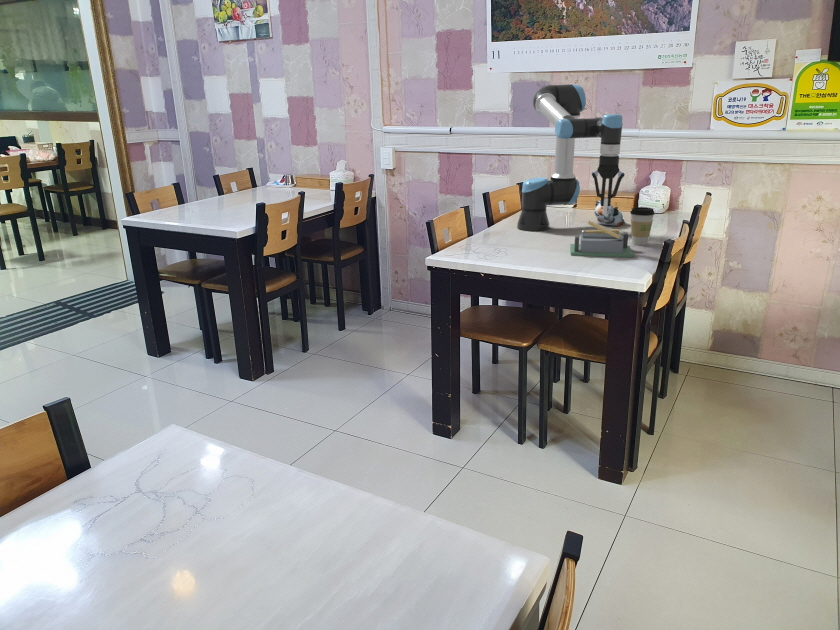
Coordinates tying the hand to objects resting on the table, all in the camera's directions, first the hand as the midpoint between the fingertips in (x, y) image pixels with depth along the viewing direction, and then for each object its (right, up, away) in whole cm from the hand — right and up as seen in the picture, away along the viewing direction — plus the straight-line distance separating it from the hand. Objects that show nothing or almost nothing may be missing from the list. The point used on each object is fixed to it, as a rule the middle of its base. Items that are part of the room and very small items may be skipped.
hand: (604, 214), depth 267 cm
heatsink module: (-2, -15, 0) cm, 15 cm away
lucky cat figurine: (+17, +3, +51) cm, 54 cm away
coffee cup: (+18, -11, +12) cm, 25 cm away
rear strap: (-1, -8, +2) cm, 8 cm away
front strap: (-2, -8, -7) cm, 11 cm away
